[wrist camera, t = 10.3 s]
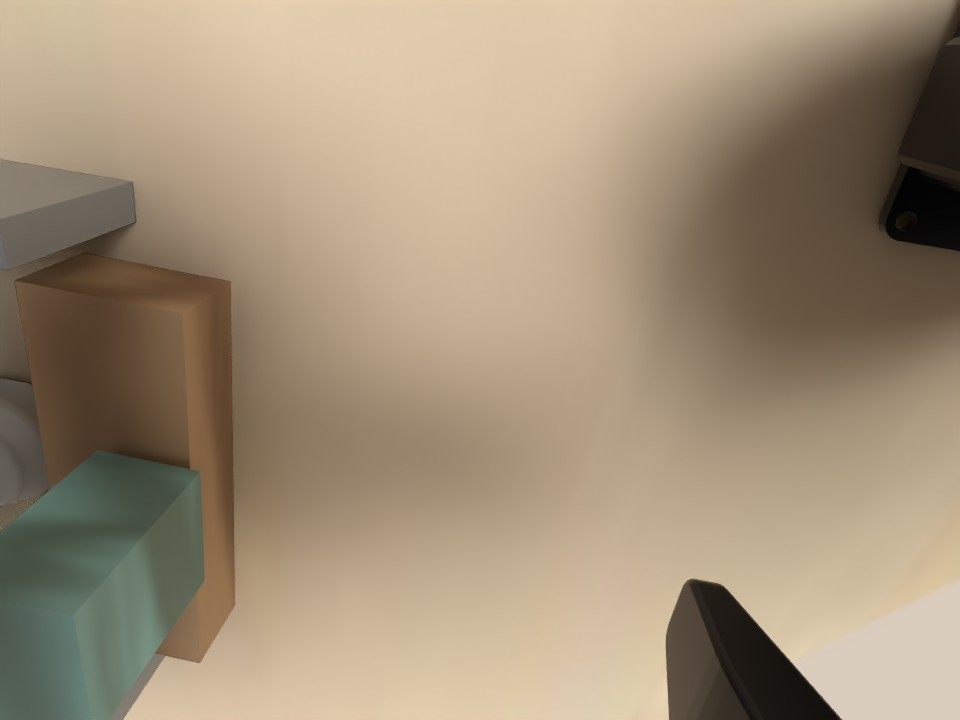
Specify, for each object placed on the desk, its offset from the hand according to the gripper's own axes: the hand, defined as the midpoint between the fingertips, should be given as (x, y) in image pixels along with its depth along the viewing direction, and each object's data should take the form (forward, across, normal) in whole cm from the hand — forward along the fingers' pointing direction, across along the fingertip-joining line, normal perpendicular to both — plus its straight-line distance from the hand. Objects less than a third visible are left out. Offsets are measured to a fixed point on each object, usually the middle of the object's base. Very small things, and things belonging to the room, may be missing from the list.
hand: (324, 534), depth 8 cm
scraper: (+12, +9, +9) cm, 18 cm away
